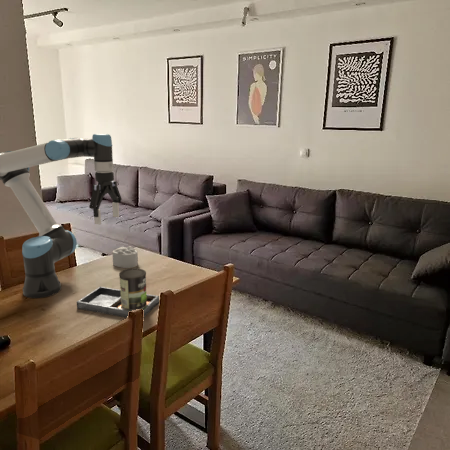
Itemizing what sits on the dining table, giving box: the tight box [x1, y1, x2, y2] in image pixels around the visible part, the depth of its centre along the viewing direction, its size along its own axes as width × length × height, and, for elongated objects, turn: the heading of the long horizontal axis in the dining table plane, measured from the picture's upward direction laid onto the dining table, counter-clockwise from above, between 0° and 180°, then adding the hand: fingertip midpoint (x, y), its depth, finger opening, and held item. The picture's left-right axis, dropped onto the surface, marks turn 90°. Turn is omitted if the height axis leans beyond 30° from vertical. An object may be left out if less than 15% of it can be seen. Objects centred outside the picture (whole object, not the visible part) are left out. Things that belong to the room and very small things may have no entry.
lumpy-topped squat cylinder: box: [111, 245, 139, 269], centre depth 202 cm, size 10×13×9 cm
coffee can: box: [118, 267, 147, 310], centre depth 154 cm, size 10×10×14 cm
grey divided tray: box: [76, 286, 160, 318], centre depth 157 cm, size 28×16×3 cm, turn 73°
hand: (107, 220), depth 168 cm, fingers open, 13 cm apart
